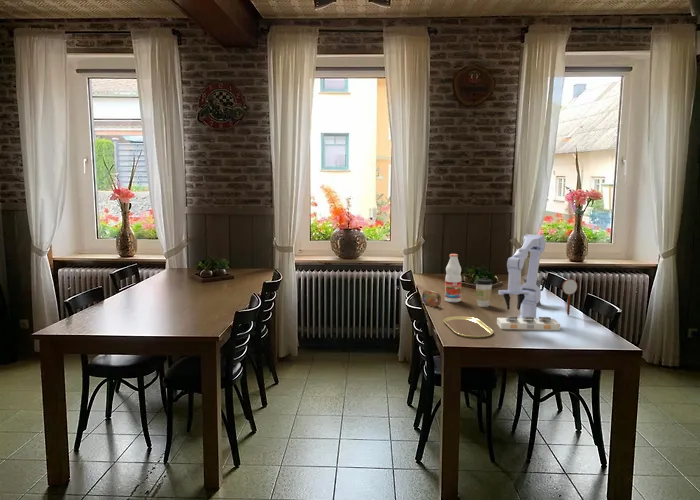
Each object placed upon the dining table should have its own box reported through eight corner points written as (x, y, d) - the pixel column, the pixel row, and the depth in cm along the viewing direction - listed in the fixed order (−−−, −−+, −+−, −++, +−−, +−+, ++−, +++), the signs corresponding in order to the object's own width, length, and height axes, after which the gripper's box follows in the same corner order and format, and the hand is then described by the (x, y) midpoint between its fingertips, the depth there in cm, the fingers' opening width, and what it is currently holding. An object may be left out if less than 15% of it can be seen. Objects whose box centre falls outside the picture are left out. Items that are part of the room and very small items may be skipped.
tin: (421, 302, 314) (421, 288, 313) (426, 302, 316) (426, 288, 314) (437, 308, 301) (437, 293, 300) (441, 307, 302) (442, 293, 301)
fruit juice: (459, 299, 323) (460, 253, 319) (461, 302, 314) (463, 255, 310) (443, 298, 324) (445, 253, 320) (445, 302, 315) (446, 255, 311)
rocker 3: (538, 318, 265) (538, 316, 266) (547, 318, 265) (547, 316, 265) (542, 319, 260) (542, 317, 260) (550, 319, 259) (550, 317, 259)
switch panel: (496, 323, 269) (497, 315, 269) (553, 324, 268) (554, 316, 267) (501, 329, 259) (501, 321, 259) (560, 330, 258) (560, 322, 257)
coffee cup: (474, 303, 313) (475, 278, 311) (491, 304, 311) (492, 278, 309) (474, 307, 303) (475, 281, 301) (492, 308, 301) (493, 281, 299)
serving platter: (474, 318, 280) (474, 315, 280) (499, 338, 246) (499, 335, 246) (439, 319, 278) (439, 316, 278) (459, 339, 244) (459, 336, 244)
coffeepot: (527, 306, 304) (528, 275, 302) (517, 303, 313) (518, 272, 311) (550, 304, 309) (551, 274, 306) (539, 301, 318) (541, 271, 315)
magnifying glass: (561, 316, 283) (563, 279, 280) (559, 315, 285) (561, 278, 282) (576, 315, 284) (578, 278, 281) (574, 315, 286) (577, 278, 283)
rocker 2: (522, 318, 266) (522, 316, 266) (530, 318, 266) (530, 316, 266) (525, 319, 260) (525, 316, 260) (533, 319, 260) (533, 317, 260)
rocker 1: (506, 318, 267) (506, 316, 267) (514, 318, 266) (514, 316, 266) (508, 318, 261) (508, 316, 261) (517, 319, 260) (517, 316, 260)
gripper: (501, 283, 255) (499, 311, 257) (532, 283, 254) (530, 311, 256) (497, 280, 262) (496, 307, 264) (528, 280, 261) (526, 308, 263)
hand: (513, 309), depth 260 cm, fingers open, 4 cm apart
